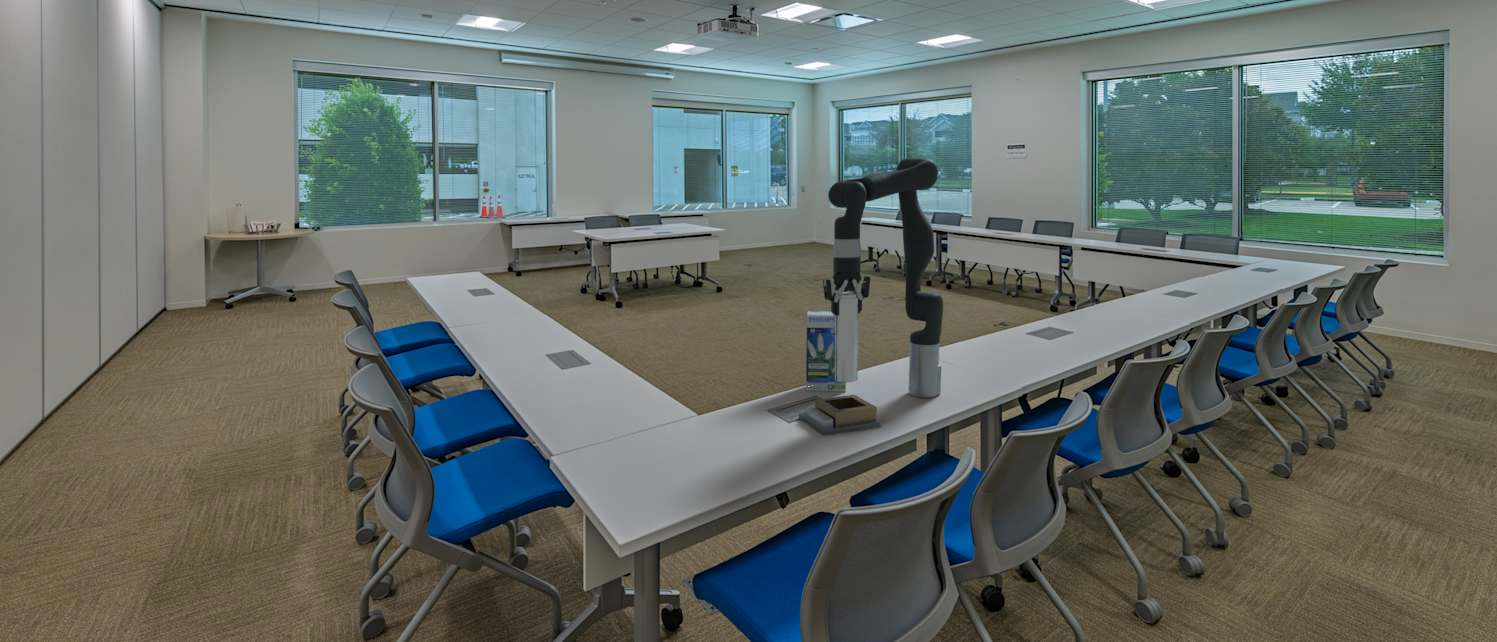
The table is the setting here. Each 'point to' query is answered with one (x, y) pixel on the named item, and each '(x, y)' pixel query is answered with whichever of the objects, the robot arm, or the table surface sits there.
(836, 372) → the white tall cylinder
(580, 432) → the table surface
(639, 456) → the table surface
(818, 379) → the string lights box
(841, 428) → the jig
